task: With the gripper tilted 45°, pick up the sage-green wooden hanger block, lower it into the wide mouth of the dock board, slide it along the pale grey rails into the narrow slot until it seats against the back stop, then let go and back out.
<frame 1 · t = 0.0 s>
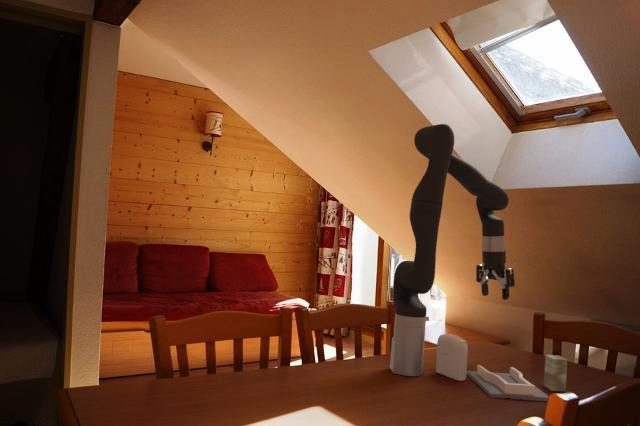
hand: (495, 297, 176), 22 cm above the table, tool pointing down, fingers open, 8 cm apart
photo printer: (450, 377, 157), on the table
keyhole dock: (505, 386, 150), on the table
sage hanger block: (554, 388, 153), on the table
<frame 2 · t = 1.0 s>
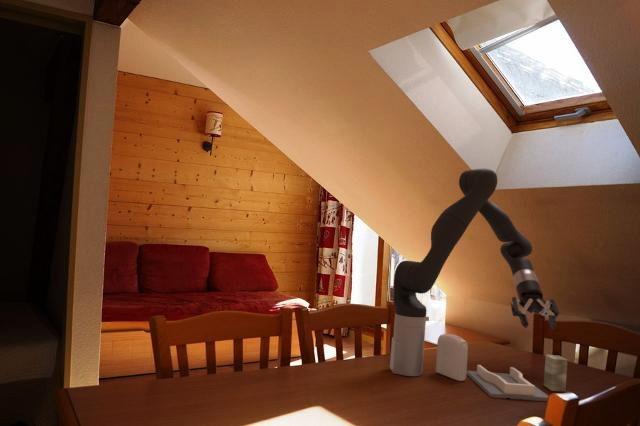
hand: (540, 327, 165), 15 cm above the table, tool tilted 45°, fingers open, 8 cm apart
nothing on the table moved.
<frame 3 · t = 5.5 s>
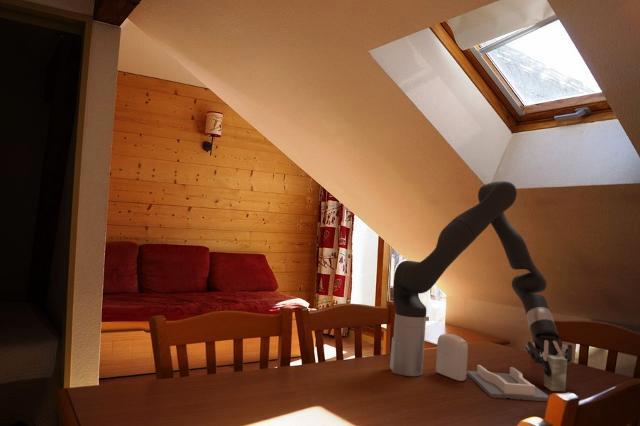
hand: (557, 375, 151), 4 cm above the table, tool tilted 45°, fingers closed on sage hanger block, 4 cm apart
sage hanger block: (554, 388, 153), on the table, touching gripper
everything else where it was.
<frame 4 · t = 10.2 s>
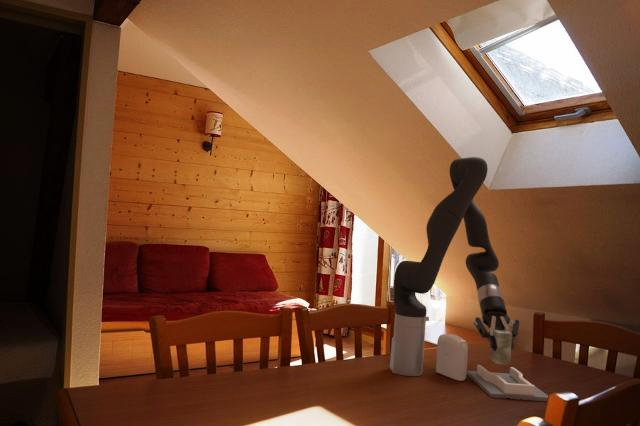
hand: (503, 349, 155), 10 cm above the table, tool tilted 45°, fingers closed on sage hanger block, 4 cm apart
sage hanger block: (500, 362, 156), point 6 cm above the table, touching gripper
everything else where it was.
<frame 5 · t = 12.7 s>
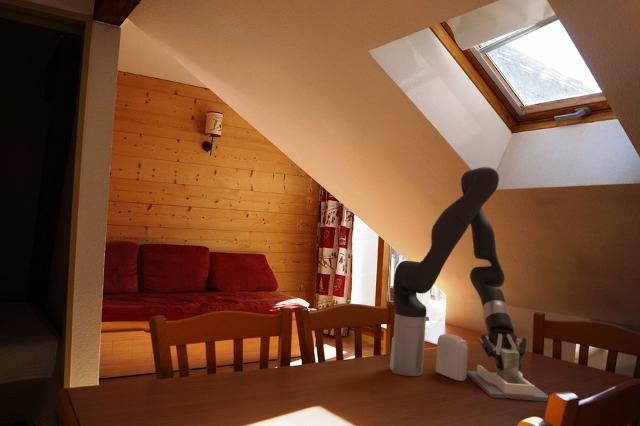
hand: (509, 369, 148), 6 cm above the table, tool tilted 45°, fingers closed on sage hanger block, 4 cm apart
sage hanger block: (506, 382, 150), point 1 cm above the table, touching gripper
everything else where it was.
when the fingers open (5 cm above the table, at t = 14.8 s): sage hanger block stays where it is, resting on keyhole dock.
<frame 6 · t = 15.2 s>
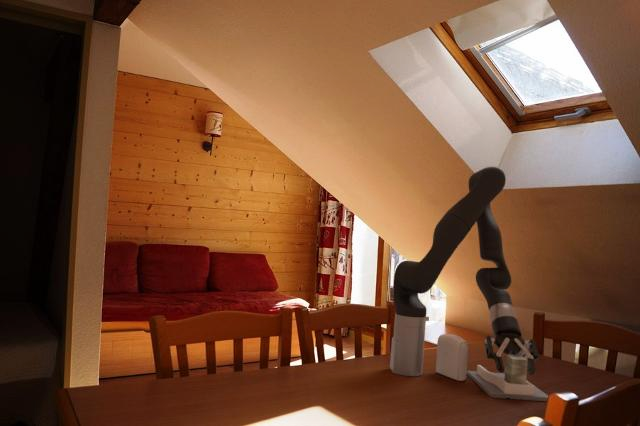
hand: (517, 372, 143), 6 cm above the table, tool tilted 45°, fingers open, 8 cm apart
sage hanger block: (514, 390, 144), point 1 cm above the table, touching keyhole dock
everything else where it was.
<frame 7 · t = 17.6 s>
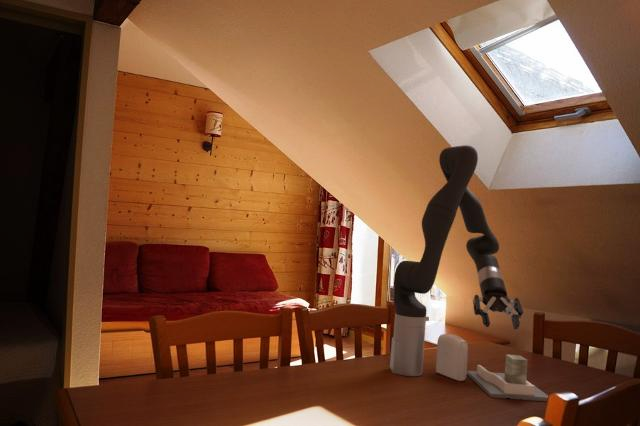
hand: (502, 326, 156), 16 cm above the table, tool tilted 45°, fingers open, 8 cm apart
nothing on the table moved.
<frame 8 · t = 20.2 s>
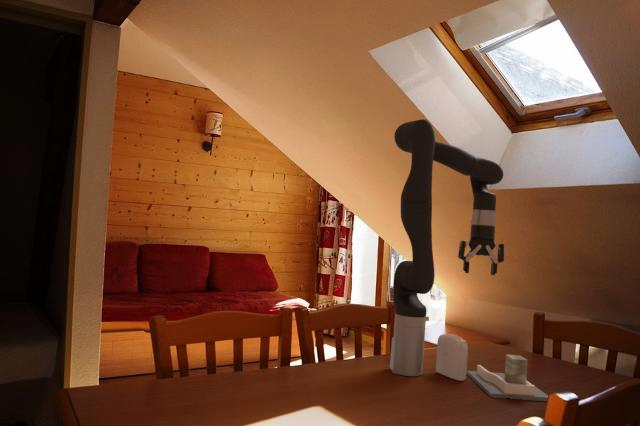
hand: (479, 274, 171), 30 cm above the table, tool pointing down, fingers open, 8 cm apart
nothing on the table moved.
at the end: sage hanger block 0.2 cm from the target spot on the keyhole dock, point 1.0 cm above the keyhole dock's base; sage hanger block tilted 0°; the gripper is holding nothing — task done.
